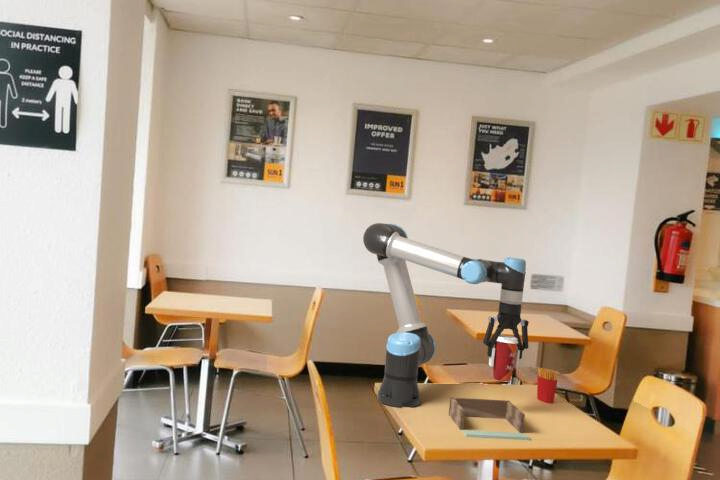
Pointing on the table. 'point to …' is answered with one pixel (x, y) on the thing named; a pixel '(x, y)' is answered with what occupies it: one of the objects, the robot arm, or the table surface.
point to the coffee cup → (504, 357)
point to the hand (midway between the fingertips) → (503, 366)
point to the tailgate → (495, 435)
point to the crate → (485, 411)
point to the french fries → (546, 385)
